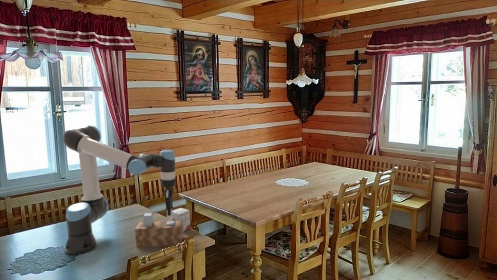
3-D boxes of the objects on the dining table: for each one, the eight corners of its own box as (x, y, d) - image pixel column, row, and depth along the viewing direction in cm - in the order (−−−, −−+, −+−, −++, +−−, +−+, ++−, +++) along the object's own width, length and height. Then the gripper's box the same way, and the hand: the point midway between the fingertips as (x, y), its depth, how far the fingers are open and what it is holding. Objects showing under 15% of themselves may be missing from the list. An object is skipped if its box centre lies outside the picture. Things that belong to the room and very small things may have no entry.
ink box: (181, 225, 217) (180, 207, 215) (190, 228, 212) (190, 209, 210) (170, 229, 211) (169, 210, 209) (179, 233, 205) (178, 213, 203)
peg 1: (144, 232, 190) (143, 215, 189) (145, 229, 194) (145, 213, 193) (151, 232, 191) (150, 215, 189) (153, 229, 195) (152, 213, 193)
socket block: (136, 246, 188) (135, 228, 187) (140, 238, 198) (139, 222, 196) (181, 244, 190) (180, 227, 188) (183, 237, 199) (182, 220, 198)
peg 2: (167, 240, 192) (166, 224, 191) (168, 237, 196) (167, 221, 194) (174, 240, 192) (173, 224, 191) (175, 237, 196) (174, 221, 195)
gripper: (173, 181, 183) (175, 224, 186) (177, 175, 196) (178, 216, 199) (159, 181, 182) (160, 225, 186) (163, 175, 195) (164, 216, 199)
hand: (169, 220), depth 192 cm, fingers closed
